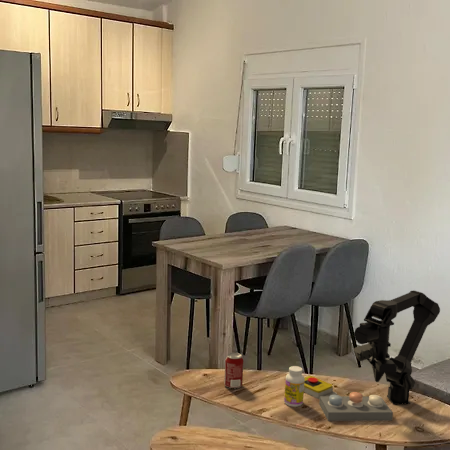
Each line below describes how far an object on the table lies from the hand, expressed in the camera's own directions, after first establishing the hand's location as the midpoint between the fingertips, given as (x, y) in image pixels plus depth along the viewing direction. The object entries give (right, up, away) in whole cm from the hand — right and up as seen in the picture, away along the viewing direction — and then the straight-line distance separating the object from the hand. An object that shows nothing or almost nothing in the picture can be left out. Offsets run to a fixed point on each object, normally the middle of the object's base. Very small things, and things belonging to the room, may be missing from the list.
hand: (376, 381), depth 202 cm
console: (-8, -10, -2) cm, 13 cm away
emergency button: (-19, -8, +15) cm, 26 cm away
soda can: (-50, -6, +16) cm, 52 cm away
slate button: (-15, -6, -3) cm, 16 cm away
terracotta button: (-8, -6, -2) cm, 10 cm away
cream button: (-1, -7, -1) cm, 7 cm away
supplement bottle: (-29, -9, +4) cm, 30 cm away
